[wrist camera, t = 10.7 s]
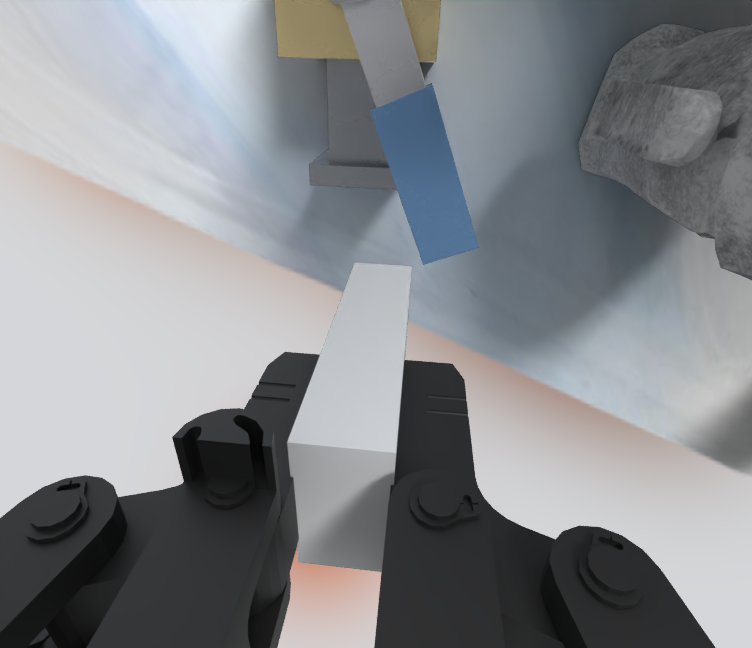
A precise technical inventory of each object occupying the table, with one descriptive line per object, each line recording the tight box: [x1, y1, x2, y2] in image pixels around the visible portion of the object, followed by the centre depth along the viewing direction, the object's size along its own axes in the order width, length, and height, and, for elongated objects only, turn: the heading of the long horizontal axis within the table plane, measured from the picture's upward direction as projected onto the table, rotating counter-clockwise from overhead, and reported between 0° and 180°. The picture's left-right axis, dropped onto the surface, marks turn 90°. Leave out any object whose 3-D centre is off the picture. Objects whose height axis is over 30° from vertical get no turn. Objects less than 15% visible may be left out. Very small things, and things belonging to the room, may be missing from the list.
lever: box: [329, 0, 479, 265], centre depth 21 cm, size 17×5×3 cm, turn 21°
